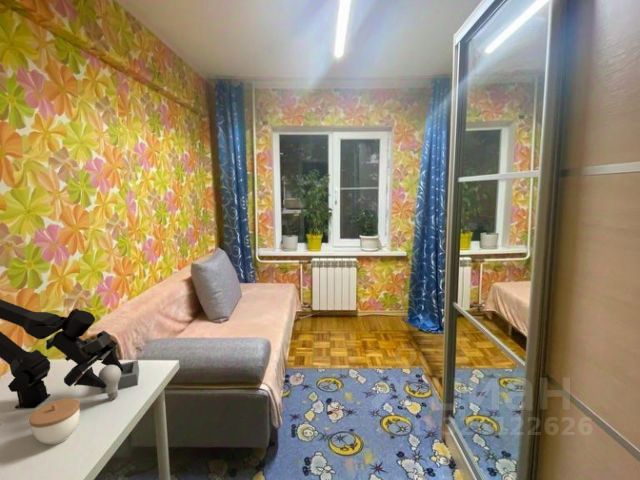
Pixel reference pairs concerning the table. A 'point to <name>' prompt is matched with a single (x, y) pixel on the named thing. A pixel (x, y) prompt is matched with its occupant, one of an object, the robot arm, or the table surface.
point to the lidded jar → (55, 421)
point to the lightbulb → (110, 379)
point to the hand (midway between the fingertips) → (114, 378)
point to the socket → (127, 376)
